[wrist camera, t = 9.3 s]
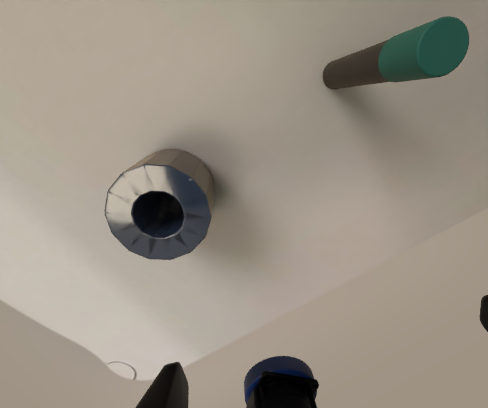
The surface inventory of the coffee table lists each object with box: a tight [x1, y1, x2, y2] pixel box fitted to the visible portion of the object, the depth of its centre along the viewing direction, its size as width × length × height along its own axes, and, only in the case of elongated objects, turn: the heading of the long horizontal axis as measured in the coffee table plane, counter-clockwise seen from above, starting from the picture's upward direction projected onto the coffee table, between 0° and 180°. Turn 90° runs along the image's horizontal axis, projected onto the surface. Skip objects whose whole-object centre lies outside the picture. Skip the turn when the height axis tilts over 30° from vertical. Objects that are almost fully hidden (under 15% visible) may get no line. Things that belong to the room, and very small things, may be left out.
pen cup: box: [105, 149, 214, 260], centre depth 17 cm, size 5×6×5 cm
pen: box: [323, 17, 469, 89], centre depth 13 cm, size 2×2×9 cm
